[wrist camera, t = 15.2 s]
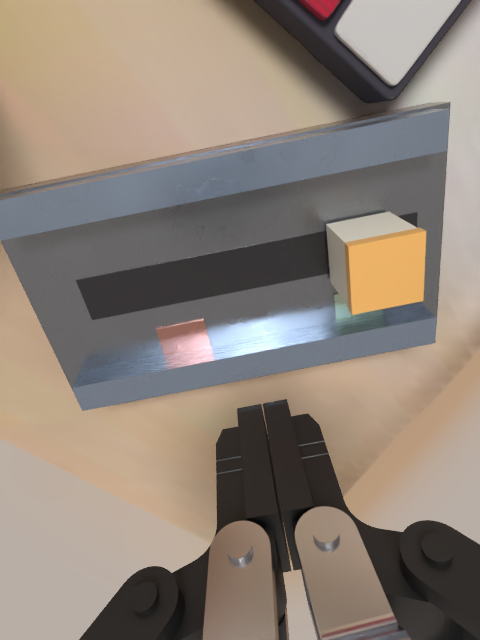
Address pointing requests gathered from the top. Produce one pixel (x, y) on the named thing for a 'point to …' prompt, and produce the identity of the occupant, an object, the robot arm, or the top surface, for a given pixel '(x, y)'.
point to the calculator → (368, 38)
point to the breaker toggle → (376, 261)
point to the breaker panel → (224, 255)
